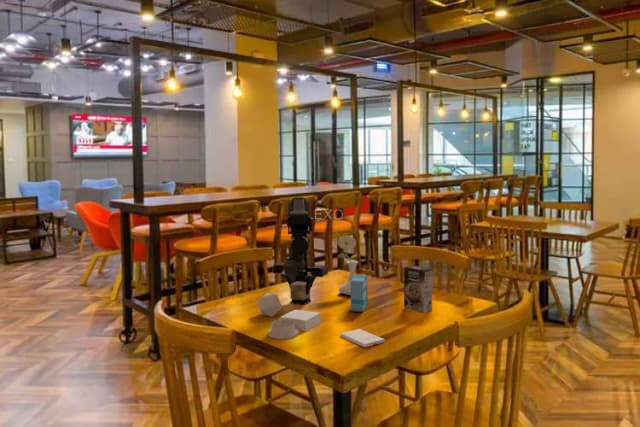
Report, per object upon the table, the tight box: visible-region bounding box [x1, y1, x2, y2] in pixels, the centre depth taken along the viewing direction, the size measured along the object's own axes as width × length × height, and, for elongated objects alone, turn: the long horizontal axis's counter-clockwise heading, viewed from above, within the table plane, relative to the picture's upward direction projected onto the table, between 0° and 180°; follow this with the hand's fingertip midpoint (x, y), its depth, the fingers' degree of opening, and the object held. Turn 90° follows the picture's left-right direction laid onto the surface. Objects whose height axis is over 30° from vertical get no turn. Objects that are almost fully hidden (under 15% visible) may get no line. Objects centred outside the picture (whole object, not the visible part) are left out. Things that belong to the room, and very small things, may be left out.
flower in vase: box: [336, 234, 359, 296], centre depth 231 cm, size 13×11×25 cm
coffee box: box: [403, 264, 434, 314], centre depth 207 cm, size 9×6×16 cm
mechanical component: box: [267, 318, 300, 340], centre depth 180 cm, size 10×4×10 cm
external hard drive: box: [340, 328, 386, 348], centre depth 175 cm, size 2×8×12 cm
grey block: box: [280, 309, 321, 332], centre depth 190 cm, size 10×10×4 cm
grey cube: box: [289, 281, 311, 300], centre depth 189 cm, size 5×5×5 cm
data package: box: [350, 274, 369, 313], centre depth 209 cm, size 12×4×12 cm, turn 166°
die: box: [256, 292, 283, 318], centre depth 202 cm, size 8×9×10 cm
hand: (300, 294), depth 189 cm, fingers closed on grey cube, 5 cm apart
